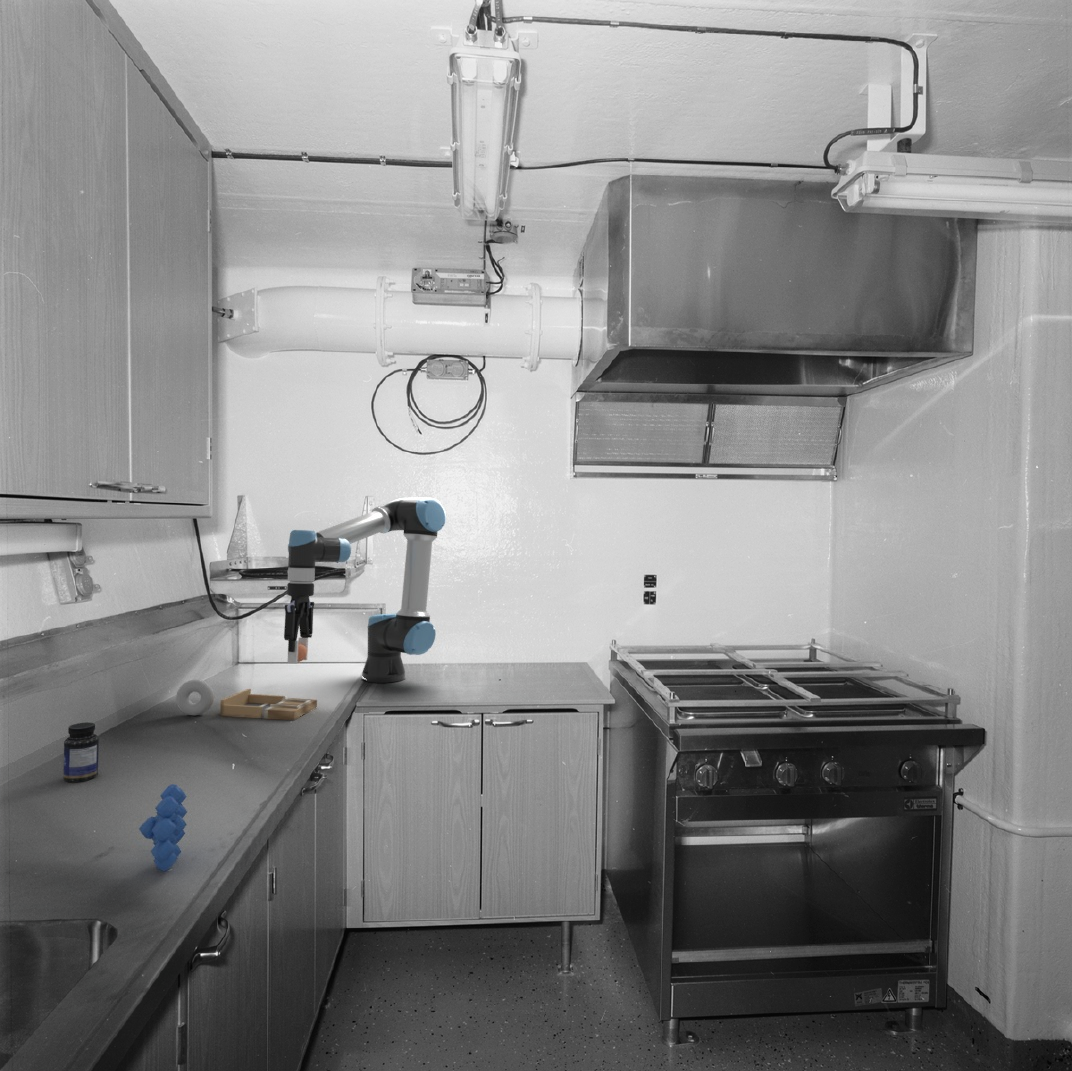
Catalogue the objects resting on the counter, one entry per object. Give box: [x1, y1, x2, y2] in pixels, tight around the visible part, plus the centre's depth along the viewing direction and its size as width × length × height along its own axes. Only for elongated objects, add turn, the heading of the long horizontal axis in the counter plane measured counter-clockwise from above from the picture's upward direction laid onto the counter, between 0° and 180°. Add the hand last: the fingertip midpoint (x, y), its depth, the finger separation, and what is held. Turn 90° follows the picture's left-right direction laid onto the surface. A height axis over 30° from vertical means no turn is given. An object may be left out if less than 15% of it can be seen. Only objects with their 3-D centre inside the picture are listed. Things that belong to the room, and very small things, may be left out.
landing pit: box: [219, 688, 286, 719], centre depth 201 cm, size 14×13×4 cm
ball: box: [297, 644, 308, 663], centre depth 205 cm, size 5×5×5 cm
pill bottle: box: [63, 721, 100, 783], centre depth 146 cm, size 6×6×11 cm
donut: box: [175, 679, 215, 716], centre depth 195 cm, size 10×4×10 cm, turn 98°
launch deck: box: [263, 697, 318, 721], centre depth 200 cm, size 14×9×3 cm, turn 172°
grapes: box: [139, 783, 188, 872], centre depth 110 cm, size 12×7×12 cm, turn 16°
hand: (297, 661), depth 205 cm, fingers closed on ball, 5 cm apart
